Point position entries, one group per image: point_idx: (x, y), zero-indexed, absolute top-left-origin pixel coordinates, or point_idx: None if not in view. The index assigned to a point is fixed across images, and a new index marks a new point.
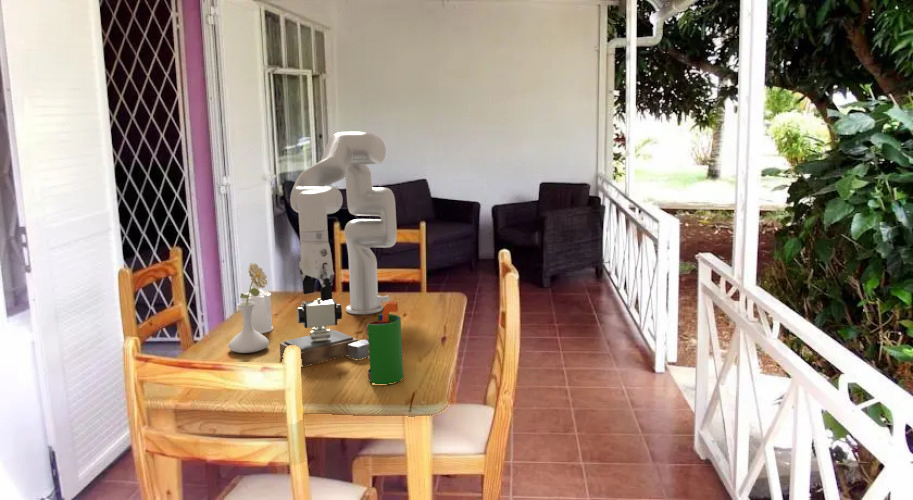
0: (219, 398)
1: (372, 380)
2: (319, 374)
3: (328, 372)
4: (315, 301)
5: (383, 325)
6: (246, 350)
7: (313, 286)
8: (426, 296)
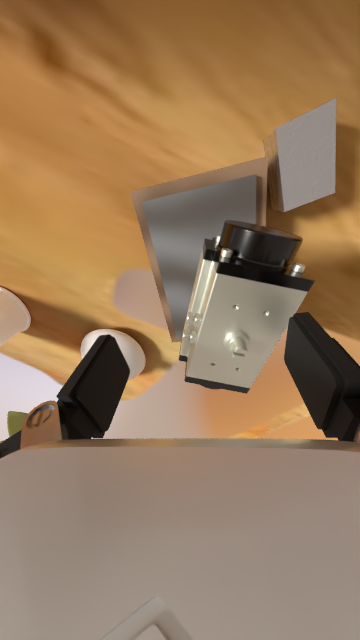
0: (286, 417)
1: None
2: (316, 305)
3: (322, 288)
4: (210, 346)
5: None
6: (144, 366)
7: (100, 357)
8: None
